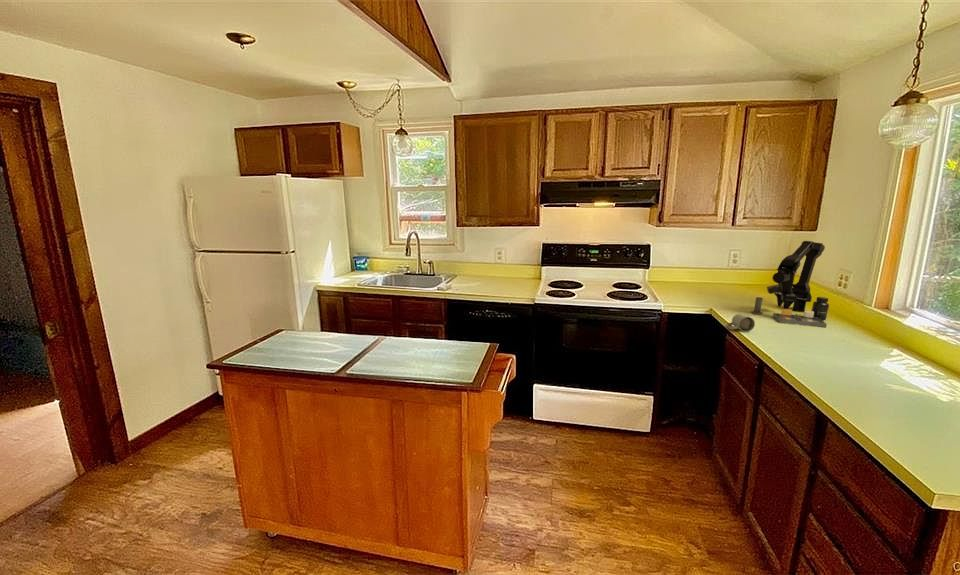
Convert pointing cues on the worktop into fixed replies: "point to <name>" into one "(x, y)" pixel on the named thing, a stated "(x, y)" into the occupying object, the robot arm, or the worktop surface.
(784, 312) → the amber toggle
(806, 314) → the ivory toggle
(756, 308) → the post
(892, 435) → the worktop surface
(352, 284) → the worktop surface
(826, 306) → the supplement bottle
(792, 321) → the breaker panel
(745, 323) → the ceramic mug
